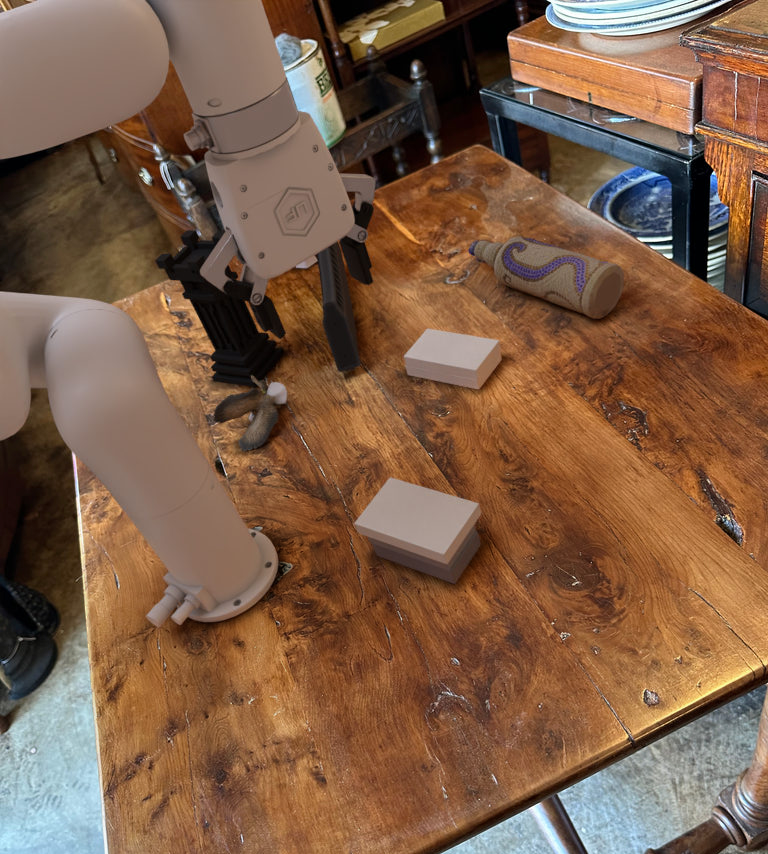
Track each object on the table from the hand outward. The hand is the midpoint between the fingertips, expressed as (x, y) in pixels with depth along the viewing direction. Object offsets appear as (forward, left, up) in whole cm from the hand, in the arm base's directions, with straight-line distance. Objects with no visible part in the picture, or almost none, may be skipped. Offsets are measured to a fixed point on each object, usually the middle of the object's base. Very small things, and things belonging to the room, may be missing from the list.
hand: (319, 305), depth 73 cm
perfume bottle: (+41, +45, -26) cm, 66 cm away
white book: (-5, -8, -22) cm, 24 cm away
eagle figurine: (+5, +25, -26) cm, 36 cm away
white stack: (+23, +5, -26) cm, 35 cm away
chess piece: (+15, +36, -26) cm, 47 cm away
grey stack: (-5, -8, -26) cm, 28 cm away
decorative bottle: (+42, +1, -26) cm, 50 cm away
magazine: (+29, +28, -26) cm, 48 cm away
